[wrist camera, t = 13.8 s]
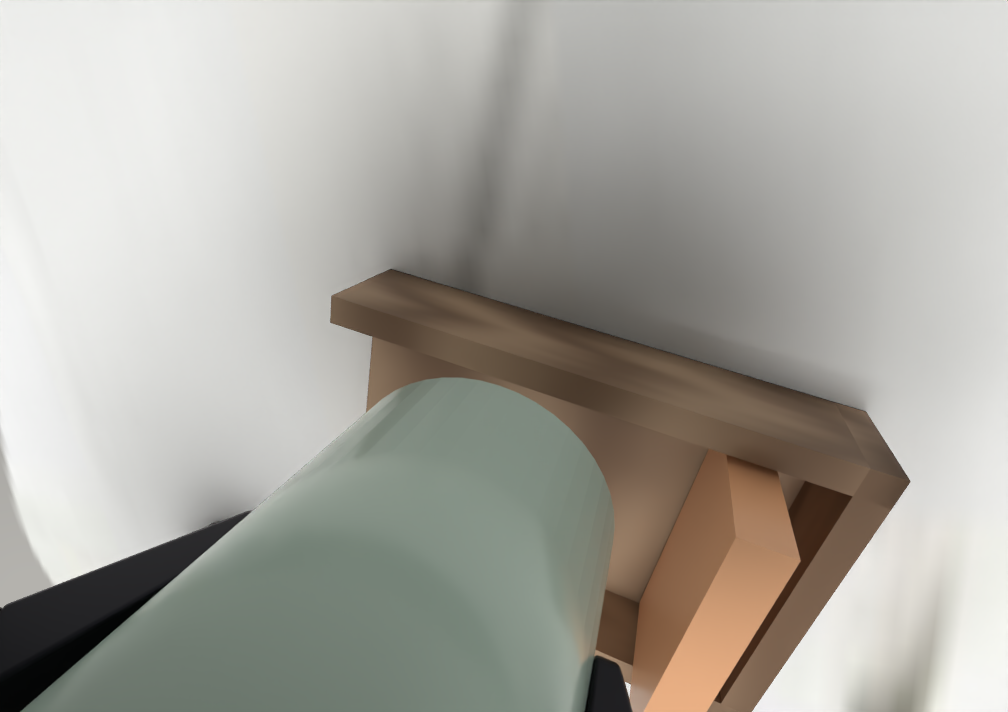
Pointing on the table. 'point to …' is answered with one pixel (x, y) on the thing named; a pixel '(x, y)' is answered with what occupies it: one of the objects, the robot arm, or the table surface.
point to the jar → (386, 577)
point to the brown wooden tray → (650, 444)
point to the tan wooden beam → (711, 585)
